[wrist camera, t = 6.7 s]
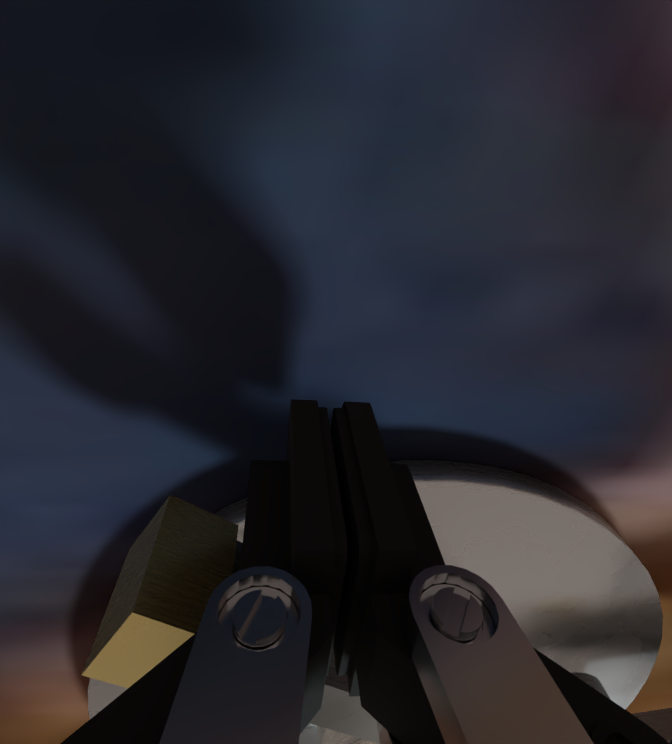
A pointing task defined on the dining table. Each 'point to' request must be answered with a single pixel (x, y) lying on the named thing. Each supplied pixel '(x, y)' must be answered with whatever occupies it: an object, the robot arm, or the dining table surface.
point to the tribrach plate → (527, 574)
